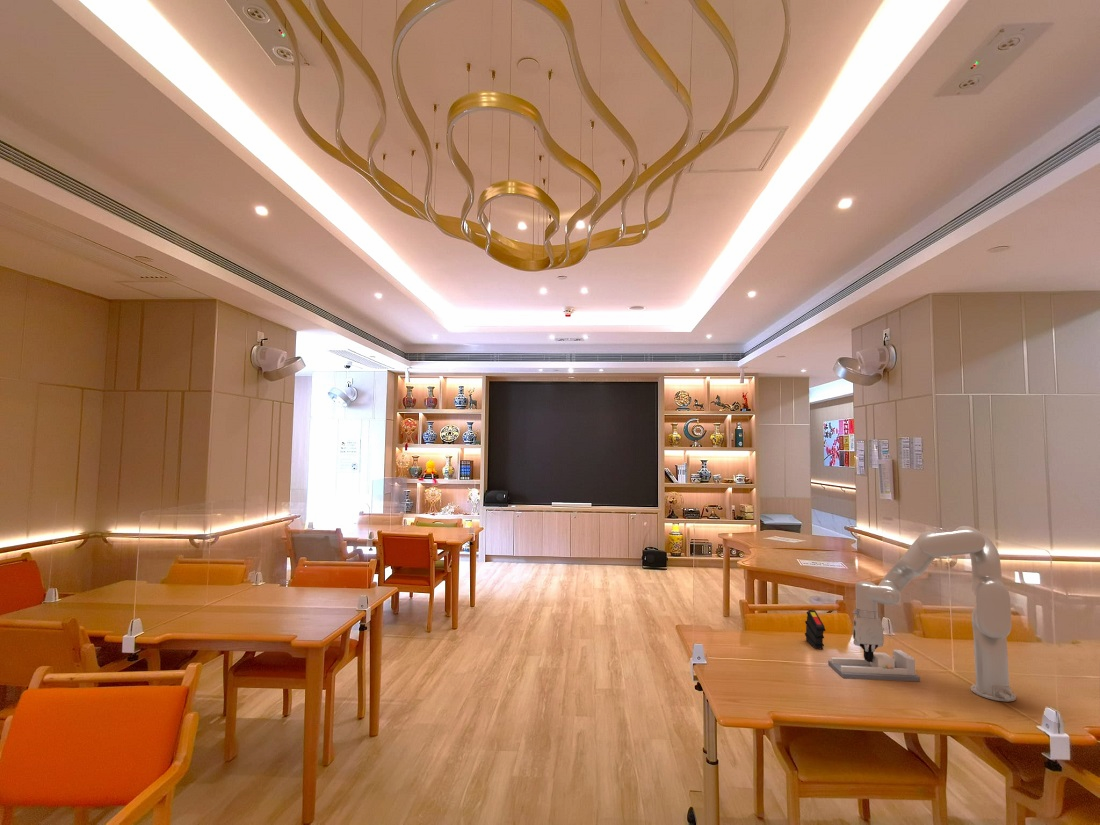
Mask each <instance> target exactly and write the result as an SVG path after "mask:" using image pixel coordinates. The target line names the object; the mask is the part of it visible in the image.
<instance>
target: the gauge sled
mask: <svg viewBox="0 0 1100 825" xmlns="http://www.w3.org/2000/svg"><path fill="white" fill-rule="evenodd" d="M873 657H874V659H873V662H870V665H871V666H872V667H888V668H895V665H894V659H893V656H891V655H889V654H887V653H886V652H876V651H874V652H873Z"/></svg>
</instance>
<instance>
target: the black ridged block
mask: <svg viewBox="0 0 1100 825" xmlns="http://www.w3.org/2000/svg"><path fill="white" fill-rule="evenodd" d="M806 615H807V616H806V620H805V621H804V624H805V625H806V628H805V632H804V636H805V641H806V642H807V643H808V644H809V645H810V646H812V647H813V648H814V649H816V650H823V649H824V647H825V644H824V643H823V642H824V641H823V640H824V639H825V637H824V632H826V629H825V625H824V623H823V621H822V620H821V618H820V616H819V614H818V613H817V611H816V610H815V609H808V610H807V611H806Z"/></svg>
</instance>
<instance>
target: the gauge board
mask: <svg viewBox="0 0 1100 825" xmlns="http://www.w3.org/2000/svg"><path fill="white" fill-rule="evenodd" d="M892 658H893V659H894V665H895V668H888V667H872V666H871V665H870V662H868V661H866V660H865V658H853V657H832V656H831V660H827V663H828V664H827V665H828V666H830V667H831V668H832V669H833V670H834V671H835V672H836V673H837V674H838V675H839V676H841V678H842V679H850V680H851V679H855V680H856V679H857V680H875V681H876V680H879V681H896V682H897V681H899V682H903V681H904V682H921V678H920V676H919V675H917V674H916V659H915V658H914V657H912V656H911V655H909V654H908V653H906V652H904V651H903V650H901V649H892Z"/></svg>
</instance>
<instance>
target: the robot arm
mask: <svg viewBox="0 0 1100 825" xmlns="http://www.w3.org/2000/svg"><path fill="white" fill-rule="evenodd" d="M960 555H962V556H963V555H969V556H970V562H971V579H972V580H971V589H972V592H973V594H974V595H975V601H976V602H975V604H976V605H975V606H974V607H973V609H972V611H971V615H970V616H971V618H970V619H971V626H972V632H973V633H972V634H973V635H972V636H973V650H974V651H973V652H974V673H975V684H974V683H973V684H972V685H970V690H971V692H973V693H974V694H975V695H977V696H979V697H982V698H985V699H989V700H992V701H998V702H1006V703H1009V702H1014V701H1016V699H1017V698H1016V697H1017V696H1016V694H1015V693H1013V692H1012V691H1011V690H1012V689H1011V688H1012V687H1010V673H1009V672H1010V671H1009V657H1008V654H1009V652H1008V651H1009V650H1008V639H1007V637H1008V636H1009V635H1010V633H1011V632H1012V606H1011V605H1012V604H1011V596H1010V592H1009V590H1008V588H1007V586H1006V585H1005V584H1004V583H1003V576H1002V575H1003V574H1002V568H1001V567H1002V564H1001V558H1000V554H999V551H998V549H997V547H996V545H995V544H994V542H993V541H992V540H991V539H990V537H988V536H987V535H986V534H984V533H983V532H982V531H980V530H979V529H976V528H975V527H972V526H968V525H962V526H958V527H957V528H955V529H954V531H953V530H952V531H947V532H946V531H945V532H935V531H932V530H926V531H923V532H921V534H919V535H918V536H917V538H916V539H915V540H914V541H913V543H912V544H911V545H910V547H908V549H907V550H906V551H905V552H904V554H903V555H902V556H901V557H900V559H898V560H897V562H896V563H895V565H893V566H892V567H891V568H890V570H889V571H888V572H887V574H885V575H884V577H882V579H881V581H879V582H878V585H877V584H875V583H874V582H871V581H865V580H860V581H857V582H856V583H855V585H854V586H855V609H854V610H852V613H853V614H854V618H853V623H852V624H853V625H852V638H853V645H855V646H857V647H860V648H861V649H862V650H863V659H865V660H866V661H868V662H873V659H874V657H873V652H876V651H875V650H876V649H877V648H881V647H883V646H884V644H885V643H884V642H885V636H884V635H885V634H884V628H883V624H882V621H881V618H880V617H879V610H878V609H879V608H878V607H879V605H878V604H881V605H886V606H895V605H897V604H899V602H900V600H901V595H900V594H901V593H902V591H903V590H904V588H906V586H907V585H908V584H909V583H910V582H911V581H912V580H914V579H915V578H917V577H920V576H921V575H923V574H924V572H925V571H926V570H927V569H928V567H929V566H930V565H931V564H932V563H933V562H934V560H935V559H936V558H938V557H950V556H951V557H952V556H960Z"/></svg>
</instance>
